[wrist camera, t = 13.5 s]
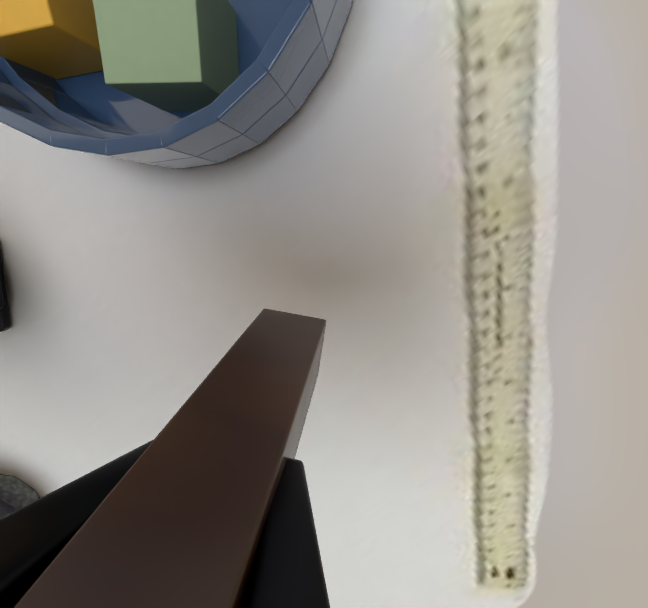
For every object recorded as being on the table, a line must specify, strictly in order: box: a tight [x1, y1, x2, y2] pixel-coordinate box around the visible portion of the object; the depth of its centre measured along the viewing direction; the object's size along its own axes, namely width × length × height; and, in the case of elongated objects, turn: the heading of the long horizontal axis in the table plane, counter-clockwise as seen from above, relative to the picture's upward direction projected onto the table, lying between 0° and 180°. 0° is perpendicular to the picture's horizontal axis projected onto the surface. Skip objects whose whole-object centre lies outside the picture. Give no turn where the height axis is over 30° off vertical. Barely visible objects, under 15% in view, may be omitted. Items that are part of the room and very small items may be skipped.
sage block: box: [93, 0, 239, 111], centre depth 14 cm, size 4×4×4 cm
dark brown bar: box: [14, 309, 326, 608], centre depth 7 cm, size 2×2×12 cm
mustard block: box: [0, 0, 103, 79], centre depth 14 cm, size 4×4×4 cm
